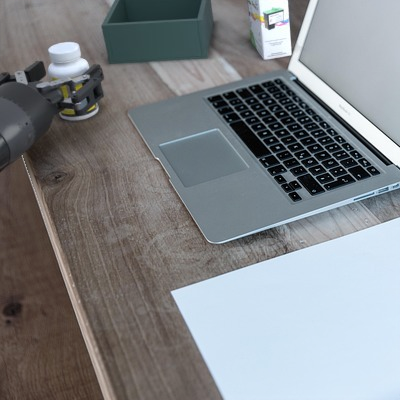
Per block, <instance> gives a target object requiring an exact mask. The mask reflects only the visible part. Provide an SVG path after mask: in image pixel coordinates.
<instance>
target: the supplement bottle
mask: <svg viewBox="0 0 400 400" xmlns="http://www.w3.org/2000/svg"><path fill="white" fill-rule="evenodd" d="M48 56H49V59H50V61H51V63H50V64H49V65H48V68H47V72H48V78H49V80H50V81H49V82H52V81H55V80H58V79H61V78H64V77H69V78H71V79H73V78H76V77H79V76H82V74H83V73H85V72H86V71H87V70H88V69H89V68H90V67H91V66H90V65H89V62H88V61H87V60H86V59H85V58H83V57H82V52H81V48H80V45H79V43H77V42H73V41H64V42H59V43H55V44H53V45H51V46H50V47H49V48H48ZM81 87H82V83H81V84H78V85H76V86H75V89H76V91H77V90H79V89H80V88H81ZM61 89H62V92H63V95H64V98H68V92H67V88H66V85H65V86H61ZM98 102H99V101H98ZM98 102H97V103H96V104H95V105H94V106H93V107H91V108H90V109H89V110H88V111H87V112H86V113H85V114H83V115H80V116H76V115H75V112H74V109H64V110H63V111H61V112H59V113H58V115H59V116H60V117H61V118H62V119H63V120H65V121H71V122H76V121H82V120H83V121H84V120H87V119H89V118H91V117H93V116H95V115H96V114H97V113H98V112H99V103H98Z"/></svg>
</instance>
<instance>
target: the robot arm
mask: <svg viewBox="0 0 400 400" xmlns="http://www.w3.org/2000/svg"><path fill="white" fill-rule="evenodd" d="M89 67H90V68H89V69H88V70H87V71H86V72H85V73H83V74H82V76H79V77H76V78H73V79H71V78H69V77H64V78H61V79H58V80H55V81H52V82H51V81H41V80H42V79H44V78H45V77H46V76H47V70H46V67H45V63H44V61H43V60H36V61H34V62H32V64H30V65H29V66H28V67H26V68H25V69H23V70H17V71H15V72H14V74H11V73H10V72H9V71H3V72H1V73H0V173H1V172H3V170H5V169H6V168H8V166H10V165H11V164H13V163H15V162H16V161H17V160H18V159H20V158H21V157H22V156H23V155H24V154H25V153H26V152H27V151H28V150H29V149H30V148H31V147H33V145H35V143H36V142H38V141H39V140H40V139H41V138H42V137H43V136H44V135H45V134H46V133H47V132H48V131H49V129H50V128H51V125H52V123H53V120H54V117H55V116H56V115H57V114H59V112H61V111H63V110H64V109H74V112H75V115H76V116H80V115H83V114H85V113H86V112H87V111H88V110H89V109H90V108H91V107H93V106H94V105H95V104H96V103H97V102H99V101H101V100H102V99H103V98H104V97H105V94H104V90H103V85H102V82H103V81H104V80H105V75H104V71H103V68H102V67H101V64H97V63H94V64H92V65H91V66H89ZM81 83H82V87H81V88H80V89H79V90H77V91H76V89H75V86H76V85H78V84H81ZM65 85H66V88H67V92H68V98H64V95H63V92H62V89H61V86H65Z"/></svg>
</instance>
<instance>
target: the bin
mask: <svg viewBox="0 0 400 400" xmlns="http://www.w3.org/2000/svg"><path fill="white" fill-rule="evenodd" d="M214 24H215V22H214V14H213V6H212V0H114V1H113V3H112V5H111V6H110V8H109V10H108V12H107V14H106V16H105V18H104V19H103V22H101V32H102V35H103V40H104V46H105V49H106V53H107V58H108V62H109V65H119V64H121V65H122V64H137V63H152V62H153V63H155V62H172V61H186V60H187V61H189V60H206V59H208V57H209V51H210V46H211V40H212V36H213V31H214Z"/></svg>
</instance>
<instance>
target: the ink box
mask: <svg viewBox="0 0 400 400" xmlns="http://www.w3.org/2000/svg"><path fill="white" fill-rule="evenodd" d="M246 3H247V14H248V25H249V36H250V42H251V44H252V45H253V47H254V48H255V49H256V51H257V52H258V54H259V55H260V57H261V58H262V59H263V60H272V59H278V58H284V57H289V56H292V54H293V52H292V40H291V38H292V37H291V28H290V27H291V26H290V12H289V0H246Z"/></svg>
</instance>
